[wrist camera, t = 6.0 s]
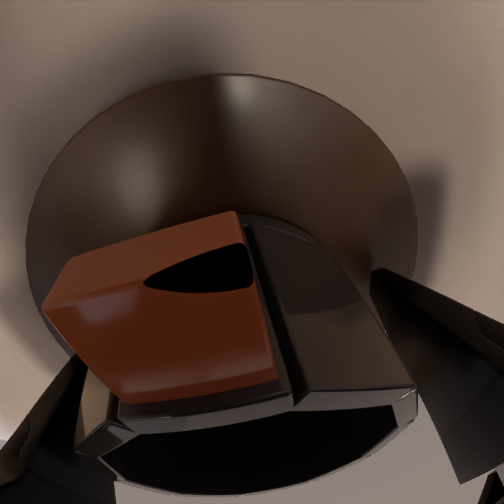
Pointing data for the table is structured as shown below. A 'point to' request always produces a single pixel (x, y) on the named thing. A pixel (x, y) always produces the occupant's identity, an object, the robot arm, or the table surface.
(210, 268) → the black faceted container
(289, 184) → the turntable
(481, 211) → the table surface
